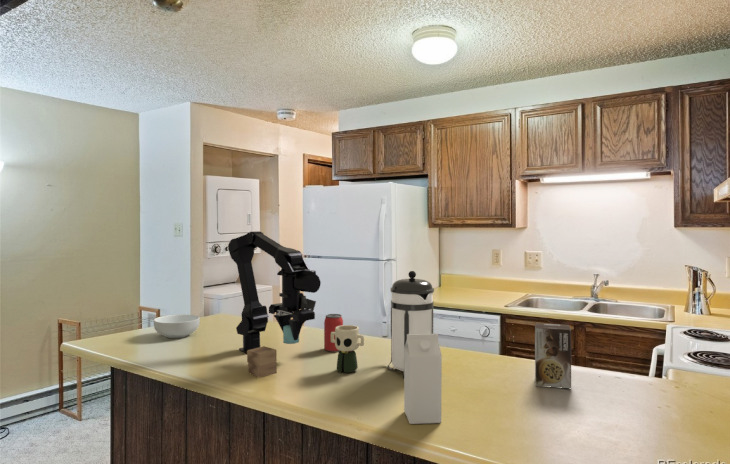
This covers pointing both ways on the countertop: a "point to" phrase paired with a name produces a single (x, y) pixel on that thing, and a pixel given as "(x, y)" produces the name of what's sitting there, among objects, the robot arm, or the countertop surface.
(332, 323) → the beer can
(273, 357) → the stepped brown block
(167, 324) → the cereal bowl
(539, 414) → the countertop surface
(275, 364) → the bottom slab
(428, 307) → the coffee press
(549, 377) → the cookie box
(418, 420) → the milk carton
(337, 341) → the character mug
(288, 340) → the teal rounded cylinder
